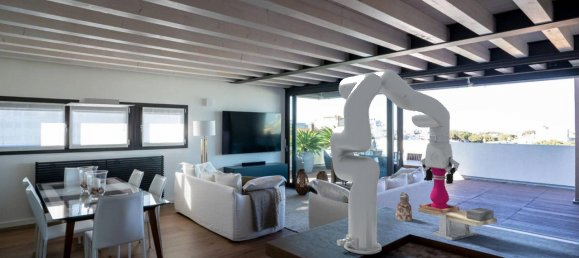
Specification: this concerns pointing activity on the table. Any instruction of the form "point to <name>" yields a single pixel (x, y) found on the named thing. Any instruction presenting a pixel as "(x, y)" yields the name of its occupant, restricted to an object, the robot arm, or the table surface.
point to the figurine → (404, 208)
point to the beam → (462, 214)
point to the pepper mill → (439, 189)
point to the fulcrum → (453, 229)
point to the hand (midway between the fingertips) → (438, 182)
